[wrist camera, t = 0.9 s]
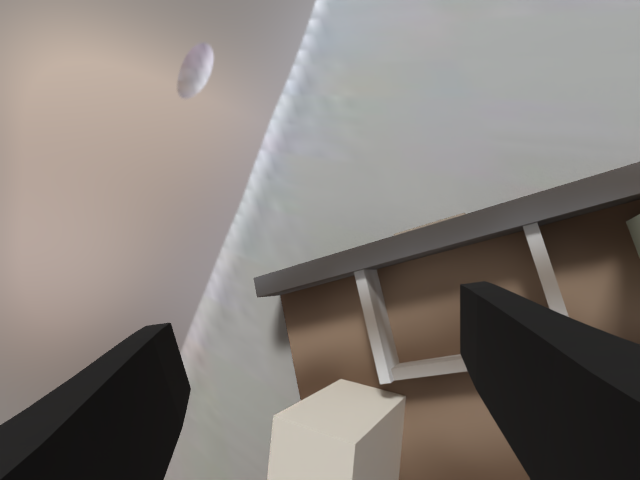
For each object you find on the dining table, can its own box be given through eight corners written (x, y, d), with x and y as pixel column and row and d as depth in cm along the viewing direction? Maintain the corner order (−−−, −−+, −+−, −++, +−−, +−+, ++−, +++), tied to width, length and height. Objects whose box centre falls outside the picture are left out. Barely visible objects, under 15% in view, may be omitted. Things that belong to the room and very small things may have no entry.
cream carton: (406, 395, 22) (355, 444, 16) (396, 506, 22) (341, 598, 16) (339, 378, 24) (271, 415, 18) (330, 479, 24) (258, 551, 18)
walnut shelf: (1016, 537, 13) (1164, 618, 10) (332, 513, 25) (303, 548, 21) (809, 122, 16) (874, 87, 13) (284, 275, 27) (253, 276, 24)
